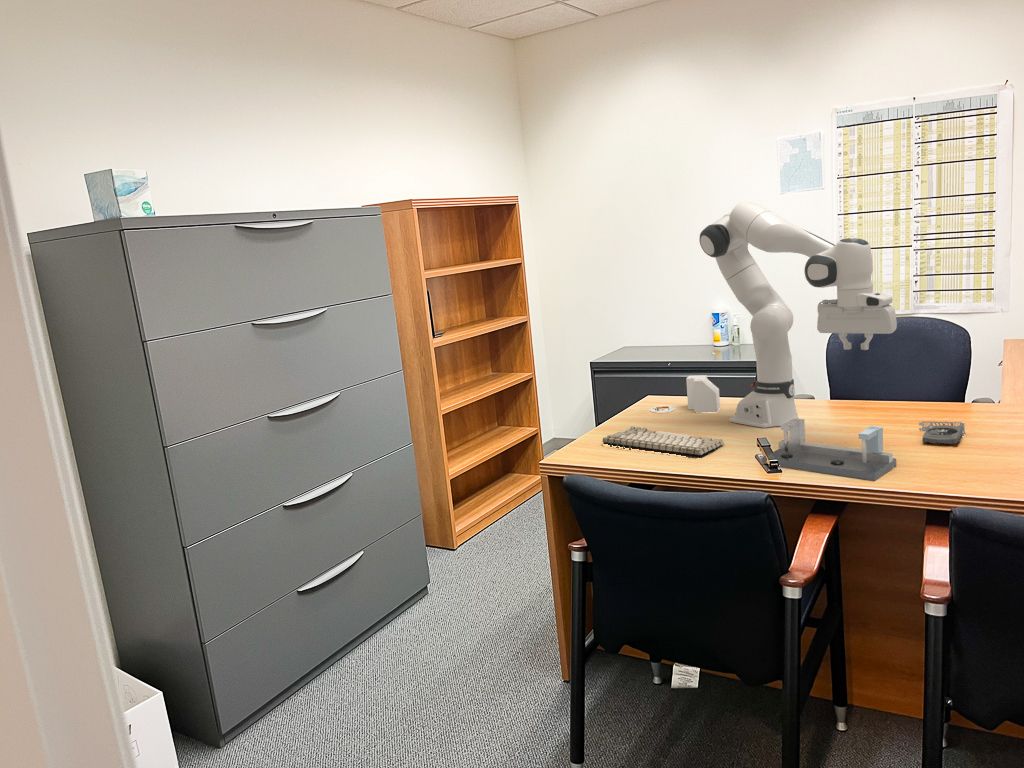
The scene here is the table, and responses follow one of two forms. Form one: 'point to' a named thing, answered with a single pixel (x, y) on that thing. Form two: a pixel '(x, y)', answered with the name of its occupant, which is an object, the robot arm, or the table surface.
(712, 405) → the grey chamfered block
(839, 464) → the grey fixture base
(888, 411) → the table surface
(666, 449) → the mechanical keyboard
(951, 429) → the graphics card
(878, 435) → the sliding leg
